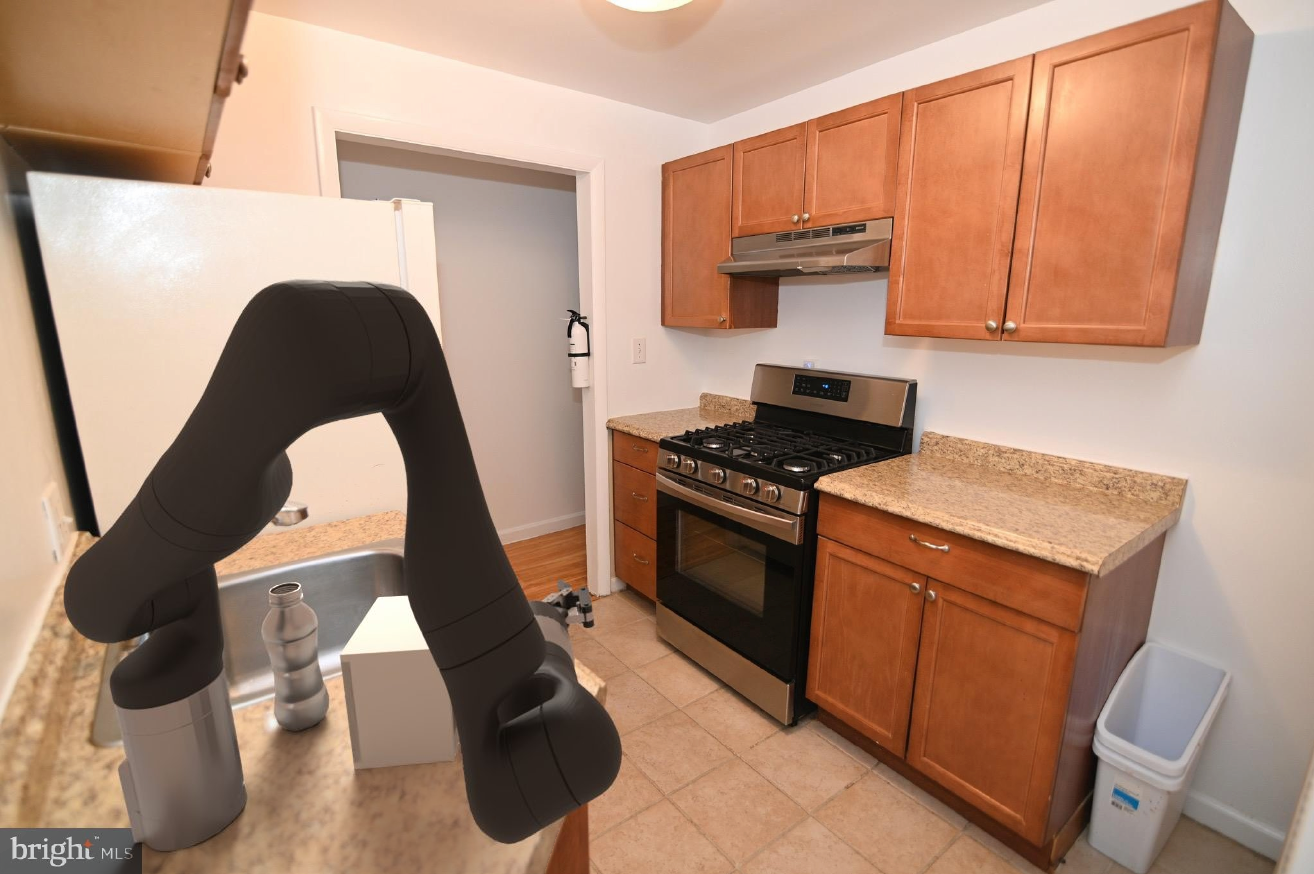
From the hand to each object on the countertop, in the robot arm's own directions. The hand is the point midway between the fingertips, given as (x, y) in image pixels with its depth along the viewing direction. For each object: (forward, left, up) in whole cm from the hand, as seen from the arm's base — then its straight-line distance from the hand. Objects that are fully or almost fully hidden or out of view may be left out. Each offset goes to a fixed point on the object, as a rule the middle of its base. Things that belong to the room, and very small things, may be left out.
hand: (525, 594), depth 72 cm
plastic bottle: (-32, +9, -22) cm, 40 cm away
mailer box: (-16, +6, -22) cm, 28 cm away
